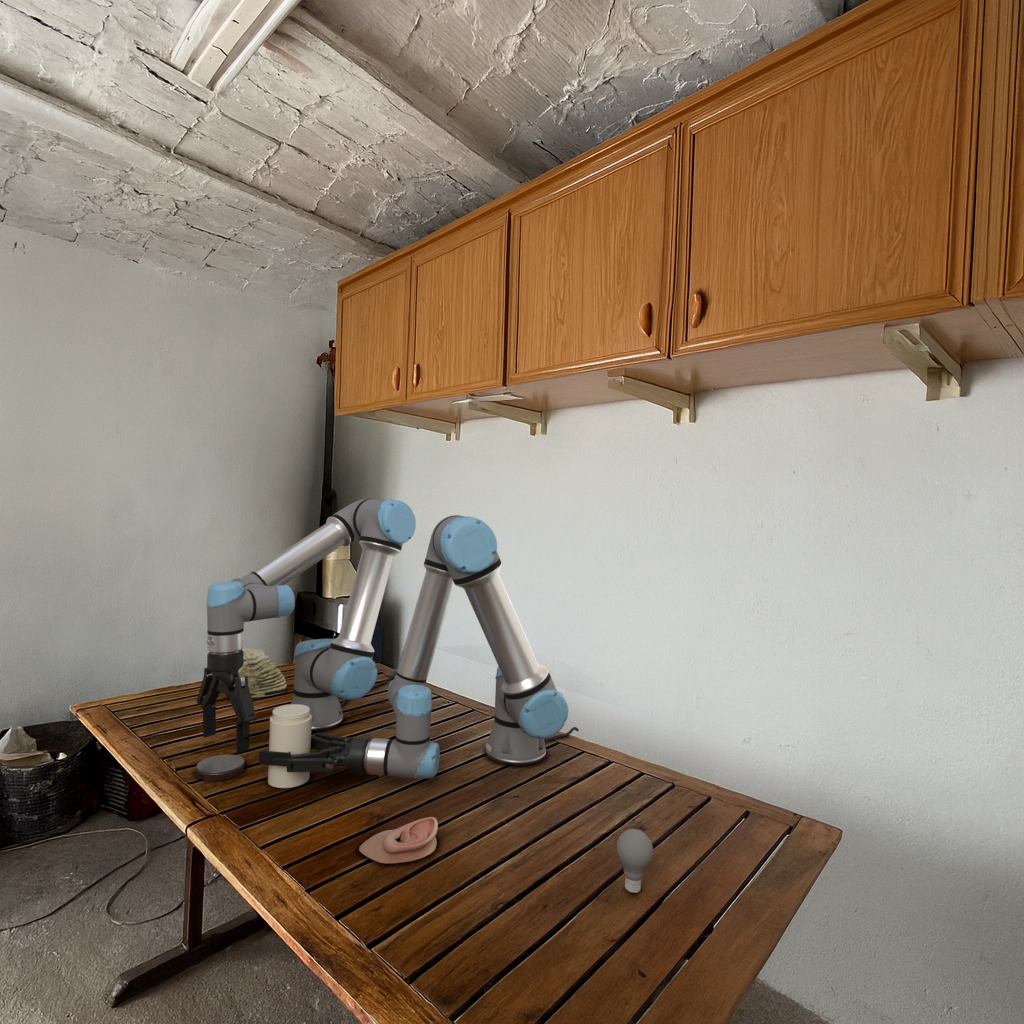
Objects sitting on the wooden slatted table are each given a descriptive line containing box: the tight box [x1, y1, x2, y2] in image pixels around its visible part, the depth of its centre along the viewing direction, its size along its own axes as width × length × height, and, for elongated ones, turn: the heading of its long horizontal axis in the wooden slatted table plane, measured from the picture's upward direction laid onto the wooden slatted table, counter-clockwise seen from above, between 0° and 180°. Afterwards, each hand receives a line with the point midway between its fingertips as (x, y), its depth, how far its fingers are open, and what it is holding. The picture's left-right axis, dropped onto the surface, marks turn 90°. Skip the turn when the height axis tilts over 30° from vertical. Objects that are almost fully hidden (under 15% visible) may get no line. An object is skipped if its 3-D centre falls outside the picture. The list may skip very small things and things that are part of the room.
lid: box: [195, 754, 245, 782], centre depth 144 cm, size 10×10×2 cm
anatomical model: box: [358, 816, 439, 864], centre depth 116 cm, size 13×4×12 cm
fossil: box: [235, 646, 288, 699], centre depth 198 cm, size 9×18×15 cm, turn 132°
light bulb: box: [615, 828, 654, 894], centre depth 106 cm, size 6×6×10 cm
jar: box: [267, 703, 312, 789], centre depth 141 cm, size 9×9×16 cm
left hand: (225, 743), depth 144 cm, fingers open, 13 cm apart
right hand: (270, 748), depth 142 cm, fingers closed on jar, 9 cm apart
